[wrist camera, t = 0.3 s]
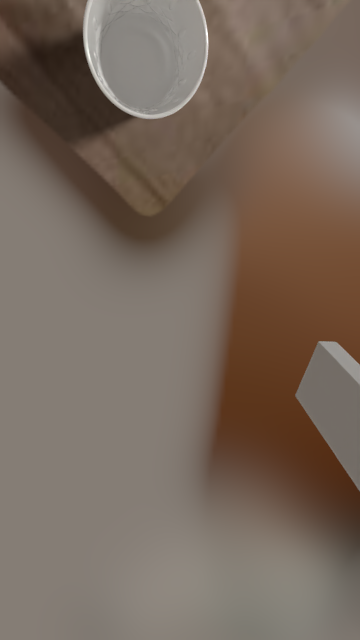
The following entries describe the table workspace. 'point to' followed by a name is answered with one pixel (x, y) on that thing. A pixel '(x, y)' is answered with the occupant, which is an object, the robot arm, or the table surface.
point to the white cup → (146, 52)
